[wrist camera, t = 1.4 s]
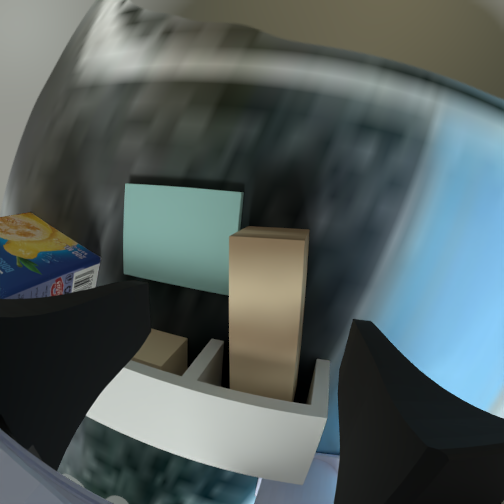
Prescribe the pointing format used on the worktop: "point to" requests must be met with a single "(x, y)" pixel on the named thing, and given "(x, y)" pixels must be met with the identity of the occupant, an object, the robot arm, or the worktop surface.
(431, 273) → the worktop surface
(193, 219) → the teal mat
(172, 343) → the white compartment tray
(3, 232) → the beverage box
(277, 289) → the beech bar
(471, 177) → the worktop surface
